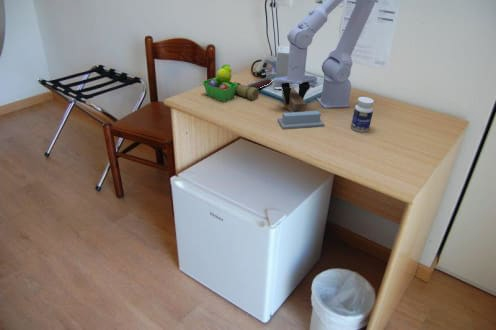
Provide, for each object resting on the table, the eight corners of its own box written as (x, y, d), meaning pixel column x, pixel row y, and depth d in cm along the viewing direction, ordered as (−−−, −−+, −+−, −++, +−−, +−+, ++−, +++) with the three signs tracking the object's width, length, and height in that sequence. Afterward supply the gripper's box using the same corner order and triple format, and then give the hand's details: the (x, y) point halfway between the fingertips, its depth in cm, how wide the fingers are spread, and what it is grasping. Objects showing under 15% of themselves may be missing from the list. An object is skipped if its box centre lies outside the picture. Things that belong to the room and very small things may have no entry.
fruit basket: (201, 94, 149) (200, 64, 143) (219, 88, 154) (218, 59, 148) (223, 104, 143) (223, 73, 136) (240, 97, 148) (241, 67, 142)
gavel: (262, 72, 163) (283, 78, 158) (261, 83, 165) (282, 89, 160) (230, 83, 148) (252, 90, 143) (229, 95, 150) (251, 102, 145)
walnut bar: (292, 99, 147) (293, 87, 145) (304, 115, 136) (306, 103, 134) (281, 99, 147) (282, 88, 144) (293, 116, 135) (294, 104, 133)
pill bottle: (356, 133, 127) (362, 104, 122) (347, 125, 132) (353, 96, 126) (372, 131, 128) (378, 102, 123) (363, 123, 133) (369, 95, 128)
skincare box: (274, 82, 162) (277, 45, 154) (289, 83, 162) (293, 46, 154) (274, 90, 155) (276, 51, 147) (289, 91, 155) (293, 52, 147)
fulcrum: (317, 118, 135) (319, 108, 133) (324, 126, 130) (325, 116, 128) (277, 120, 132) (278, 110, 131) (282, 129, 128) (283, 118, 126)
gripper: (279, 70, 128) (276, 109, 136) (322, 68, 131) (317, 106, 139) (273, 62, 134) (270, 100, 142) (314, 61, 137) (310, 98, 144)
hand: (293, 103), depth 140 cm, fingers closed on walnut bar, 4 cm apart
